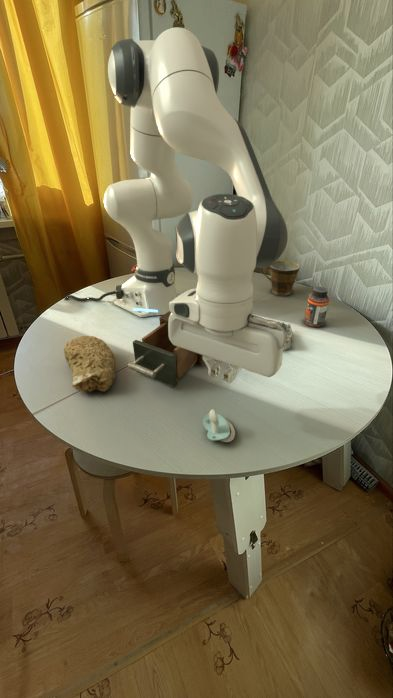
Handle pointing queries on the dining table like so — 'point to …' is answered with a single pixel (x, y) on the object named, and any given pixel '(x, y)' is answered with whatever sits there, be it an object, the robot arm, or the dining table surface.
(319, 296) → the supplement bottle
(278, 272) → the ceramic cup
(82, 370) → the sponge
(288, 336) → the egg carton
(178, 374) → the drawer
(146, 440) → the dining table surface
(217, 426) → the pacifier
